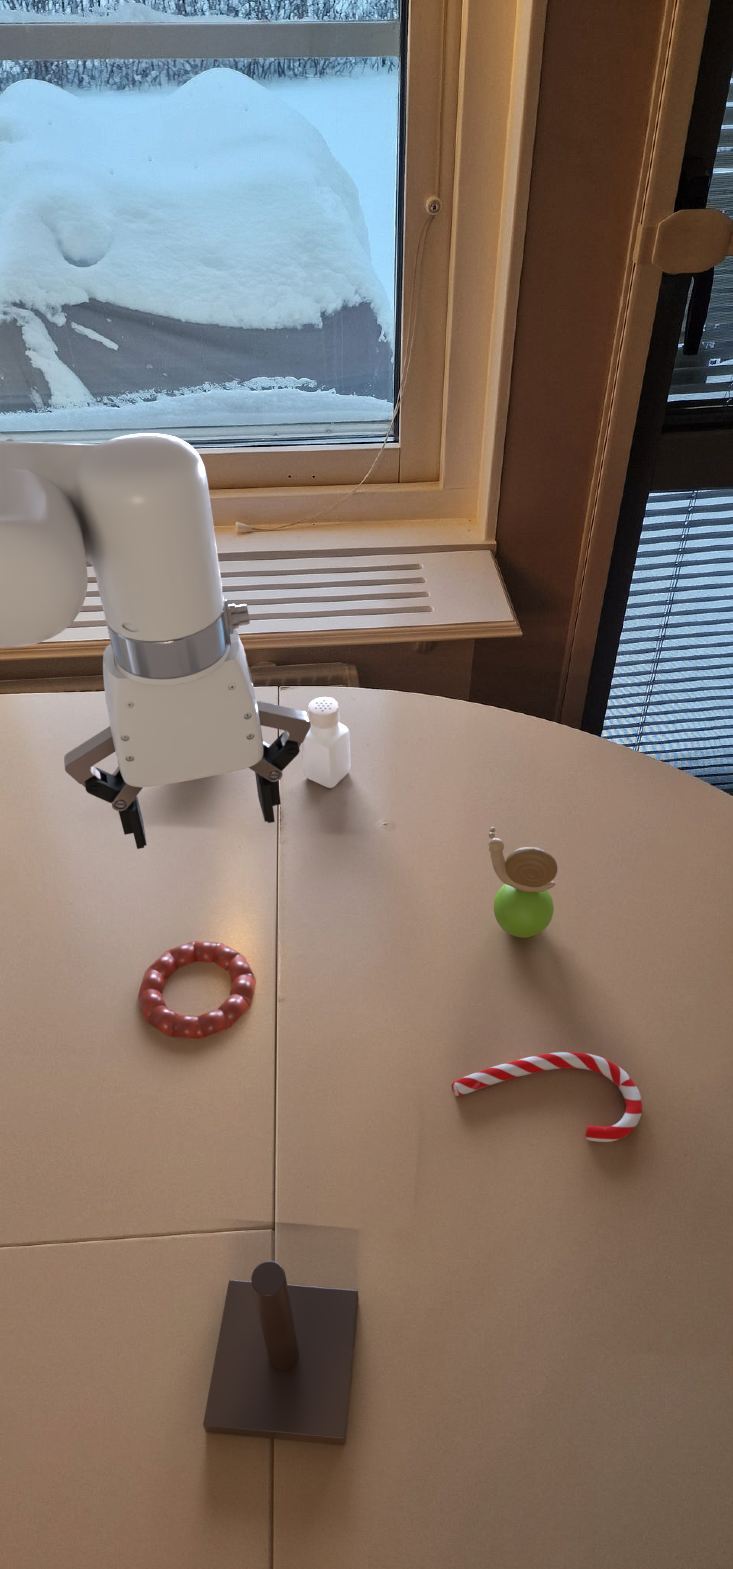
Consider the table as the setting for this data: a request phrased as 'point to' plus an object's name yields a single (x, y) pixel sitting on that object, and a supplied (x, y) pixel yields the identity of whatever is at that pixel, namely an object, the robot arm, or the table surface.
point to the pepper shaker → (326, 744)
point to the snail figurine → (523, 888)
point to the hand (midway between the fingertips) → (204, 823)
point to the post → (283, 1360)
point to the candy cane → (565, 1061)
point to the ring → (209, 1021)
